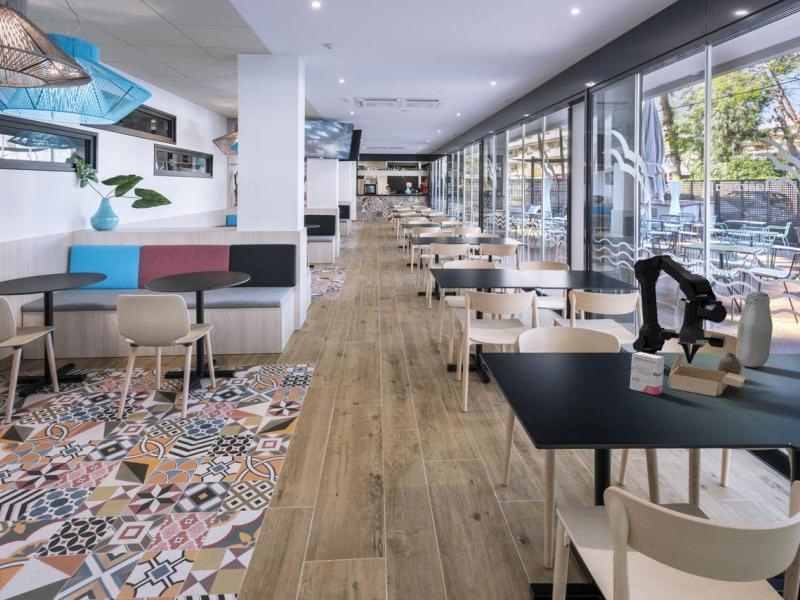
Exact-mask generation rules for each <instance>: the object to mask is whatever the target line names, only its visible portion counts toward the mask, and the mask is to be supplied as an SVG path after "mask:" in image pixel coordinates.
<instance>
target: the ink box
mask: <svg viewBox="0 0 800 600" xmlns="http://www.w3.org/2000/svg"><path fill="white" fill-rule="evenodd" d="M657 355H658V354H657ZM657 355H652V354H648V353H643V352H638V353H637V352H633V353H632V354H631V366H630V367H631V368H630V383H629V389H630V390H634V391H637V392H640V393H641V392H642V393H646V394H650V395H653V396H658V395H661V393H662V392H663V385H664V384H663V382H664V371H665V370H664V369H665V356H661V355H658V356H657Z"/></svg>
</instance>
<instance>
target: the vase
mask: <svg viewBox="0 0 800 600" xmlns="http://www.w3.org/2000/svg"><path fill="white" fill-rule="evenodd" d="M717 370H718V371H725V373H726V374H728V373H733V374H737V375H741V372H742V364H741V363H740V362H739V360H738V359H737V355H736V353H734V352H726V354H725V355H724V356H723V357H722V358H721V359H720V360H719V361H718V364H717Z"/></svg>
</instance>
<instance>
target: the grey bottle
mask: <svg viewBox="0 0 800 600" xmlns="http://www.w3.org/2000/svg"><path fill="white" fill-rule="evenodd" d="M744 300H745V301H744V306H743V310H742V312H741V315H740V318H739V320H738V325H737V333H736V334H737V337H736V338H737V339H736V346H735V347H736V349H735V351H736V352H735V356H736V357H737V359H738V360H739V362H740V364H741V366H744V367H748V368H752V369H753V368H759V367H760V368H761V367H763V366H764V365H765V364H766V363H767V361H768V359H769V357H770V351H771V342H772V336H773V319H772V315H771V307H770V304H771V298H770V296H769V294H768V293H766V292H763V291H751V292H749V293H747V295H746V297H745V299H744Z"/></svg>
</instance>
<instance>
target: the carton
mask: <svg viewBox="0 0 800 600" xmlns="http://www.w3.org/2000/svg"><path fill="white" fill-rule="evenodd" d="M726 375H727V374H726V373H725V371H718V369H711V368H705V367H699V366H693V365H685V364H680V365H679V366H678V367H677V368H676V369H675V370H674V371H673V372H672V373H671V372H670V373H669V375H668V383H667V386H668V387H669V388H670V389H674V390H678V391H684V392H689V393H694V394H695V393H696V394H699V395H700V394H701V395H704V396H705V395H706V396H712V397H716V396H719V397H721V396H722V395H723V393H724V391H725V390H726V388H727V387H728V384H725V383H722V381H723V380H724V378H725V377H726Z"/></svg>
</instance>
